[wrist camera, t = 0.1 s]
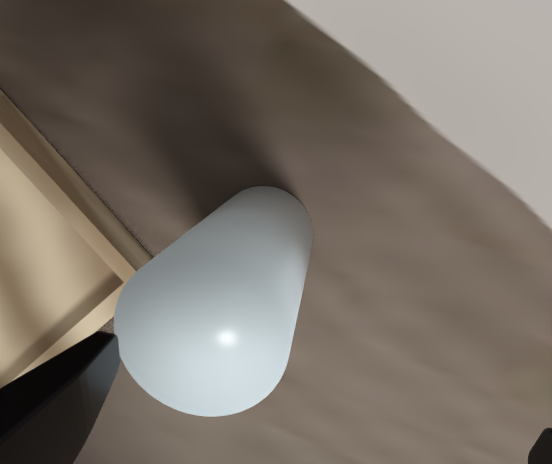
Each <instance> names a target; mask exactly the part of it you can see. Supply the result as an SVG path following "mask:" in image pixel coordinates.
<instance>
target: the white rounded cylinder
mask: <svg viewBox="0 0 552 464" xmlns="http://www.w3.org/2000/svg"><path fill="white" fill-rule="evenodd" d="M312 244H313V226H312V222H311V219H310V217H309V214H308V213H307V211H306V209H305V208H304V206H303V205H302V204H301V203H300V202H299V201H298V200H297V199H296V198H295V197H294V196H293V195H291V194H289V193H288V192H286V191H284V190H281V189H279V188H275V187H270V186H256V187H251V188H247V189H245V190H242V191H241V192H239V193H237V194H236V195H234V196H233V197H232V198H230V199H229V200H228V201H227V202H225V203H224V204H223V205H221V206H220V207H219V208H217V209H216V210H215V211H214V212H212V213H211V214H210V215H208V216H207V217H206V218H205V219H203V220H202V221H201V222H199V223H198V224H197V225H196V226H194V227H193V228H192V229H190V230H189V231H188V232H186V233H185V234H184V235H183V236H181V237H180V238H179V239H177V240H176V241H175V242H174V243H172V244H171V245H170V246H168V247H167V248H166V249H164V250H163V251H162V252H161V253H159V254H158V255H157V256H155V257H154V258H153V259H152V260H150V261H149V262H148V263H146V264H145V265H144V266H142V267H141V268H140V269H139V270H137V271H136V273H135V274H134V275H133V276H132V277H131V278H130V279H129V280H128V282H127V283H126V284H125V286H124V288H123V290H122V292H121V293H120V295H119V298H118V301H117V304H116V308H115V314H114V334H116V335H117V337H118V342H119V354H120V357H121V359H122V361H123V363H124V365H125V367H126V368H127V370H128V371H129V373H130V374H131V376H132V377H133V378H134V379H135V381H136V382H137V383H138V384H139V385H140V386H141V387H142V388H143V389H144V390H145V391H146V392H147V393H149V394H150V395H151V396H153V397H154V398H155V399H157V400H158V401H160V402H162V403H163V404H165V405H167V406H169V407H171V408H174V409H176V410H179V411H182V412H185V413H188V414H193V415H198V416H224V415H231V414H234V413H238V412H241V411H244V410H246V409H248V408H250V407H252V406H254V405H256V404H257V403H259V402H260V401H261V400H263V399H264V398H265V397H266V396H268V395H269V393H270V392H271V391H272V390H273V389H274V388H275V387H276V385H277V384H278V382H279V381H280V379H281V377H282V375H283V373H284V371H285V368H286V365H287V362H288V358H289V353H290V349H291V344H292V339H293V334H294V330H295V325H296V320H297V315H298V311H299V306H300V301H301V296H302V292H303V287H304V282H305V278H306V273H307V268H308V263H309V259H310V254H311V249H312Z"/></svg>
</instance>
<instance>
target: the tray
mask: <svg viewBox="0 0 552 464" xmlns="http://www.w3.org/2000/svg"><path fill="white" fill-rule="evenodd" d="M152 259H153V257H152V256H151V255H150V254H149V253H148V252H147V251H146V250H145V248H144V247H143V246H142V245H141V244H140V243H139V242H138V241H137V240H136V239H135V237H134V236H133V235H132V234H131V233H130V232H129V231H128V230H127V229H126V227H125V226H124V225H123V224H122V223H121V222H120V221H119V220H118V219H117V218H116V216H115V215H114V214H113V213H112V212H111V211H110V210H109V209H108V208H107V207H106V205H105V204H104V203H103V202H102V201H101V200H100V199H99V198H98V197H97V195H96V194H95V193H94V192H93V191H92V190H91V189H90V188H89V187H88V186H87V184H86V183H85V182H84V181H83V180H82V179H81V178H80V177H79V176H78V174H77V173H76V172H75V171H74V170H73V169H72V168H71V167H70V166H69V165H68V163H67V162H66V161H65V160H64V159H63V158H62V157H61V156H60V155H59V154H58V152H57V151H56V150H55V149H54V148H53V147H52V146H51V145H50V144H49V142H48V141H47V140H46V139H45V138H44V137H43V136H42V135H41V134H40V133H39V131H38V130H37V129H36V128H35V127H34V126H33V125H32V124H31V123H30V121H29V120H28V119H27V118H26V117H25V116H24V115H23V114H22V113H21V112H20V110H19V109H18V108H17V107H16V106H15V105H14V104H13V103H12V102H11V101H10V99H9V98H8V97H7V96H6V95H5V94H4V93H3V92H2V91H1V89H0V388H1V387H3V386H5V385H6V384H8V383H10V382H11V381H13V380H15V379H16V378H18V377H20V376H22V375H23V374H25V373H27V372H28V371H30V370H32V369H34V368H35V367H37V366H39V365H40V364H42V363H44V362H45V361H47V360H49V359H51V358H52V357H54V356H56V355H57V354H59V353H61V352H63V351H64V350H66V349H68V348H69V347H71V346H73V345H74V344H76V343H78V342H80V341H81V340H83V339H85V338H86V337H88V336H90V335H92V334H93V333H94V332H96V331H97V330H98V329H99V328H100V327H101V326H103V325H104V324H105V323H106V322H107V321H109V320H110V319H111V318H112V317H113V316H114V314H115V308H116V304H117V301H118V298H119V295H120V293H121V292H122V290H123V288H124V286H125V284H126V283H127V282H128V280H129V279H130V278H131V277H132V276H133V275H134V274H135V273H136V271H137V270H139V269H140V268H141V267H142V266H144V265H145V264H146V263H148V262H149V261H150V260H152Z"/></svg>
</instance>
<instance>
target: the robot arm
mask: <svg viewBox="0 0 552 464" xmlns="http://www.w3.org/2000/svg"><path fill="white" fill-rule="evenodd" d="M119 365H120V355H119V342H118V337H117V335H116V334H113V333H108V332H104V331H98V332H95V333H93V334H92V335H90V336H88V337H86V338H85V339H83V340H81V341H80V342H78V343H76V344H74V345H73V346H71V347H69V348H68V349H66V350H64V351H63V352H61V353H59V354H57V355H56V356H54V357H52V358H51V359H49V360H47V361H45V362H44V363H42V364H40V365H39V366H37V367H35V368H34V369H32V370H30V371H28V372H27V373H25V374H23V375H22V376H20V377H18V378H16V379H15V380H13V381H11V382H10V383H8V384H6V385H5V386H3V387H1V388H0V464H73V463H74V461H75V459H76V458H77V456H78V454H79V452H80V451H81V449H82V447H83V445H84V444H85V442H86V440H87V438H88V436H89V434H90V432H91V430H92V428H93V426H94V423H95V421H96V419H97V417H98V415H99V412H100V410H101V408H102V406H103V403H104V401H105V399H106V397H107V394H108V392H109V390H110V388H111V386H112V383H113V381H114V379H115V377H116V374H117V372H118V369H119ZM528 464H552V428H546V429H544V430H543V432H542V433H541V435H540V436H539V438H538V439H537V441H536V442H535V444H534V446H533V447H532V449H531V450H530V452H529V456H528Z"/></svg>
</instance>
